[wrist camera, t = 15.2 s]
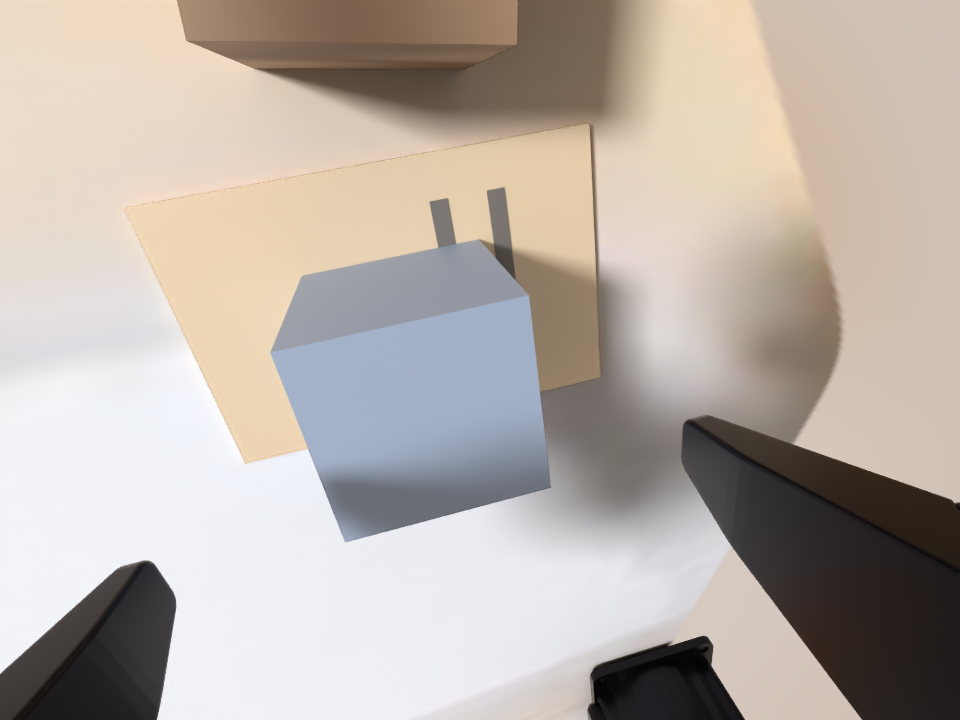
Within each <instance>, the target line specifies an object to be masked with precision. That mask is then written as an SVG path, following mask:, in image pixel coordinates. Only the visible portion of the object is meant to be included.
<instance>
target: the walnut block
mask: <svg viewBox="0 0 960 720" xmlns="http://www.w3.org/2000/svg"><path fill="white" fill-rule="evenodd" d="M177 2H178V7H179V11H180V15H181V20H182V24H183V28H184V33H185V37H186V41H189V42H191V43H193V44H196V45H198V46H201V47H203V48H205V49H208V50H210V51H213V52H215V53H218V54H220V55H222V56H225V57H227V58H230V59H232V60H235V61H237V62H239V63H242V64H244V65H247V66H249V67H252V68H254V69H467V68H469V67H471V66H473V65H475V64H478V63H480V62H482V61H484V60H486V59H488V58H490V57H492V56H495V55H497V54H499V53H501V52H503V51H505V50H507V49H509V48H511V47H514V46H516V45H517V17H518V0H177Z"/></svg>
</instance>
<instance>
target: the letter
mask: <svg viewBox="0 0 960 720" xmlns="http://www.w3.org/2000/svg"><path fill="white" fill-rule="evenodd" d="M124 211H125V213H126V215H127V217H128V219H129V221H130V223H131V225H132V227H133V229H134V231H135V234H136V236H137V238H138V240H139V242H140V244H141V246H142V248H143V250H144V252H145V255H146V257H147V259H148V261H149V263H150V265H151V267H152V269H153V271H154V273H155V275H156V278H157V280H158V282H159V284H160V286H161V288H162V290H163V292H164V294H165V296H166V299H167V301H168V303H169V305H170V307H171V309H172V311H173V313H174V315H175V317H176V319H177V322H178V324H179V326H180V328H181V330H182V332H183V334H184V336H185V338H186V340H187V343H188V345H189V347H190V349H191V351H192V353H193V355H194V357H195V359H196V361H197V363H198V366H199V368H200V370H201V372H202V374H203V376H204V378H205V380H206V382H207V384H208V387H209V389H210V391H211V393H212V395H213V397H214V399H215V401H216V403H217V405H218V407H219V410H220V412H221V414H222V416H223V418H224V420H225V422H226V424H227V426H228V428H229V431H230V433H231V435H232V437H233V439H234V441H235V443H236V445H237V447H238V449H239V451H240V454H241V456H242V458H243V460H244V462H245V464H246V463H251V462H255V461H259V460H263V459H267V458H271V457H275V456H279V455H283V454H288V453H292V452H296V451H300V450H304V449H308V447H307V445H306V442H305V439H304V437H303V434H302V432H301V429H300V427H299V424H298V422H297V419H296V417H295V414H294V412H293V409H292V407H291V404H290V402H289V399H288V397H287V394H286V392H285V389H284V386H283V384H282V381H281V379H280V376H279V374H278V371H277V369H276V366H275V364H274V361H273V359H272V356H271V354H270V352H271V349H272V347H273V344H274V342H275V340H276V337H277V335H278V332H279V330H280V327H281V325H282V323H283V320H284V318H285V315H286V313H287V310H288V308H289V306H290V303H291V301H292V298H293V296H294V293H295V291H296V289H297V286H298V284H299V281H300V279H301V276H304V275H308V274H313V273H318V272H323V271H328V270H333V269H338V268H342V267H347V266H352V265H357V264H362V263H367V262H372V261H376V260H381V259H386V258H391V257H396V256H401V255H405V254H410V253H415V252H420V251H425V250H430V249H435V248H439V247H444V246H449V245H454V244H459V243H464V242H468V241H473V240H478V239H479V240H480V241H481V243H482V244H483V245H484V246H485V247H486V248H487V249H488V250H489V251H490V253H491V254H492V255H493V256H494V257H495V258H496V259H497V260H498V261H499V263H500V264H501V265H502V266H503V267H504V268H505V269H506V270H507V271H508V273H509V274H510V275H511V276H512V277H513V278H514V279H515V280H516V282H517V283H518V284H519V285H520V286H521V287H522V288H523V289H524V290H525V292H526V293H527V294H528V295H529V300H530V309H531V318H532V327H533V335H534V344H535V353H536V362H537V371H538V379H539V388H540V392H543V391H547V390H551V389H555V388H560V387H564V386H568V385H572V384H576V383H580V382H584V381H588V380H593V379H597V378H601V376H600V353H599V330H598V307H597V284H596V261H595V238H594V216H593V193H592V170H591V147H590V124H589V123H586V124H580V125H575V126H569V127H564V128H558V129H553V130H547V131H542V132H536V133H531V134H525V135H520V136H514V137H509V138H504V139H498V140H493V141H487V142H482V143H476V144H471V145H465V146H460V147H454V148H449V149H443V150H438V151H432V152H427V153H421V154H416V155H411V156H405V157H400V158H394V159H389V160H383V161H378V162H372V163H367V164H361V165H356V166H350V167H345V168H339V169H334V170H328V171H323V172H317V173H312V174H307V175H301V176H296V177H290V178H285V179H279V180H274V181H268V182H263V183H257V184H252V185H246V186H241V187H235V188H230V189H224V190H219V191H214V192H208V193H203V194H197V195H192V196H186V197H181V198H175V199H170V200H164V201H159V202H153V203H148V204H142V205H137V206H131V207H127V208H124Z"/></svg>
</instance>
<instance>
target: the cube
mask: <svg viewBox="0 0 960 720" xmlns="http://www.w3.org/2000/svg"><path fill="white" fill-rule="evenodd" d="M270 354H271V356H272V359H273V361H274V364H275V366H276V369H277V371H278V374H279V376H280V379H281V381H282V384H283V386H284V389H285V392H286V394H287V397H288V399H289V402H290V404H291V407H292V409H293V412H294V414H295V417H296V419H297V422H298V424H299V427H300V429H301V432H302V434H303V437H304V439H305V442H306V445H307V447H308V450H309V452H310V455H311V457H312V460H313V462H314V465H315V467H316V470H317V472H318V475H319V477H320V480H321V482H322V485H323V487H324V490H325V492H326V495H327V497H328V500H329V503H330V505H331V508H332V510H333V513H334V515H335V518H336V520H337V523H338V525H339V528H340V530H341V533H342V535H343V538H344V540H345V542H349V541H352V540H356V539H360V538H364V537H367V536H371V535H375V534H379V533H382V532H386V531H390V530H394V529H397V528H401V527H405V526H409V525H412V524H416V523H420V522H424V521H427V520H431V519H435V518H439V517H442V516H446V515H450V514H454V513H457V512H461V511H465V510H469V509H472V508H476V507H480V506H484V505H487V504H491V503H495V502H499V501H502V500H506V499H510V498H514V497H517V496H521V495H525V494H529V493H532V492H536V491H540V490H544V489H547V488H551V485H550V476H549V467H548V459H547V450H546V441H545V432H544V423H543V415H542V406H541V397H540V388H539V379H538V371H537V362H536V353H535V344H534V335H533V327H532V318H531V309H530V300H529V295H528V294H527V293H526V292H525V290H524V289H523V288H522V287H521V286H520V285H519V284H518V283H517V282H516V280H515V279H514V278H513V277H512V276H511V275H510V274H509V273H508V271H507V270H506V269H505V268H504V267H503V266H502V265H501V264H500V263H499V261H498V260H497V259H496V258H495V257H494V256H493V255H492V254H491V253H490V251H489V250H488V249H487V248H486V247H485V246H484V245H483V244H482V243H481V241H480V240H479V239H478V240H473V241H468V242H464V243H459V244H454V245H449V246H444V247H439V248H435V249H430V250H425V251H420V252H415V253H410V254H405V255H401V256H396V257H391V258H386V259H381V260H376V261H372V262H367V263H362V264H357V265H352V266H347V267H342V268H338V269H333V270H328V271H323V272H318V273H313V274H308V275H304V276H301V279H300V281H299V284H298V286H297V289H296V291H295V293H294V296H293V298H292V301H291V303H290V306H289V308H288V310H287V313H286V315H285V318H284V320H283V323H282V325H281V327H280V330H279V332H278V335H277V337H276V340H275V342H274V344H273V347H272V349H271V352H270Z"/></svg>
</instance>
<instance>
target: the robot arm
mask: <svg viewBox="0 0 960 720" xmlns="http://www.w3.org/2000/svg"><path fill="white" fill-rule="evenodd" d="M681 458H682V463H683V466H684V469H685V471H686V472H687V474H688V476H689V477H690V479H691V481H692V482H693V484H694V486H695V487H696V489H697V491H698V492H699V494H700V496H701V497H702V499H703V501H704V502H705V504H706V506H707V507H708V509H709V511H710V512H711V514H712V516H713V517H714V519H715V521H716V522H717V524H718V525H719V527H720V529H721V530H722V532H723V534H724V535H725V537H726V538H727V540H728V541H729V543H730V544H731V546H732V547H733V549H734V550H735V551H736V553H737V554H738V556H739V557H740V558H741V560H742V561H743V562H744V564H745V565H746V566H747V568H748V569H749V570H750V572H751V573H752V574H753V575H754V577H755V578H756V580H757V581H758V582H759V584H760V585H761V586H762V588H763V589H764V590H765V592H766V593H767V594H768V595H769V597H770V598H771V599H772V601H773V602H774V603H775V605H776V606H777V607H778V609H779V610H780V611H781V613H782V614H783V615H784V617H785V618H786V619H787V621H788V622H789V623H790V625H791V626H792V627H793V629H794V630H795V631H796V633H797V634H798V635H799V637H800V638H801V639H802V641H803V642H804V643H805V645H806V646H807V647H808V649H809V650H810V651H811V653H812V654H813V655H814V656H815V658H816V659H817V661H818V662H819V663H820V664H821V666H822V667H823V668H824V670H825V671H826V672H827V674H828V675H829V676H830V678H831V679H832V680H833V682H834V683H835V684H836V686H837V687H838V688H839V690H840V691H841V692H842V694H843V695H844V696H845V698H846V699H847V700H848V702H849V703H850V704H851V706H852V707H853V708H854V710H855V711H856V712H857V713H858V715H859V716H860V717H861V719H862V720H960V503H954V502H953V501H952V500H950V499H948V498H945V497H942V496H939V495H936V494H933V493H931V492H928V491H925V490H922V489H919V488H916V487H913V486H910V485H907V484H905V483H902V482H899V481H896V480H893V479H890V478H888V477H885V476H882V475H879V474H876V473H873V472H870V471H867V470H865V469H862V468H859V467H856V466H853V465H850V464H847V463H845V462H841V461H839V460H836V459H833V458H830V457H827V456H824V455H822V454H819V453H816V452H813V451H810V450H807V449H804V448H801V447H799V446H796V445H793V444H790V443H787V442H784V441H781V440H779V439H776V438H773V437H770V436H767V435H764V434H761V433H758V432H756V431H753V430H750V429H747V428H744V427H741V426H738V425H736V424H733V423H730V422H727V421H724V420H721V419H718V418H715V417H713V416H709V415H704V416H700V417H696V418H692V419H688V420H687V421H685V423H684V425H683V432H682V452H681ZM175 612H176V598H175V595H174V593H173V591H172V589H171V588H170V586H169V585H168V583H167V582H166V580H165V579H164V577H163V576H162V574H161V573H160V571H159V570H158V568H157V567H156V566H155V564H154V563H152V562H151V561H140V562H136V563H132V564H128V565H125V566H122V567H120V568H118V569H116V570H115V571H114V572H113V573H112V574H111V575H110V576H108V577H107V578H106V579H105V580H104V581H103V582H102V583H101V584H100V585H98V586H97V587H96V588H95V589H94V590H93V591H92V592H91V593H90V594H88V595H87V596H86V597H85V598H84V599H83V600H82V601H81V602H80V603H78V604H77V605H76V606H75V607H74V608H73V609H72V610H71V611H70V612H68V613H67V614H66V615H65V616H64V617H63V618H62V619H61V620H60V621H58V622H57V623H56V624H55V625H54V626H53V627H52V628H51V629H50V630H48V631H47V632H46V633H45V634H44V635H43V636H42V637H41V638H40V639H38V640H37V641H36V642H35V643H34V644H33V645H32V646H31V647H30V648H28V649H27V650H26V651H25V652H24V653H23V654H22V655H21V656H20V657H18V658H17V659H16V660H15V661H14V662H13V663H12V664H11V665H10V666H8V667H7V668H6V669H5V670H4V671H3V672H2V673H1V674H0V720H157V717H158V712H159V708H160V703H161V698H162V692H163V686H164V680H165V674H166V668H167V662H168V655H169V649H170V643H171V637H172V631H173V625H174V618H175ZM712 654H713V644H712V643H711V641H710V640H709V638H708V637H706V636H701V637H697V638H694V639H691V640H687V641H684V642H681V643H678V644H675V645H671V646H668V647H665V648H662V649H658V650H655V651H652V652H649V653H646V654H642V655H639V656H636V657H633V658H629V659H626V660H623V661H620V662H617V663H613V664H610V665H607V666H604V667H600V668H598V669H595V670H594V671H593V672H592V673H591V674H590V683H591V695H592V703H591V704H589V707H588V710H587V711H588V720H745V719H744V718H743V716H742V714H741V713H740V711H739V710H738V708H737V706H736V705H735V703H734V701H733V700H732V698H731V697H730V695H729V693H728V692H727V690H726V689H725V687H724V685H723V684H722V683H721V681H720V679H719V678H718V676H717V674H716V673H715V671H714V670H713V668H712V666H711V663H712Z"/></svg>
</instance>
